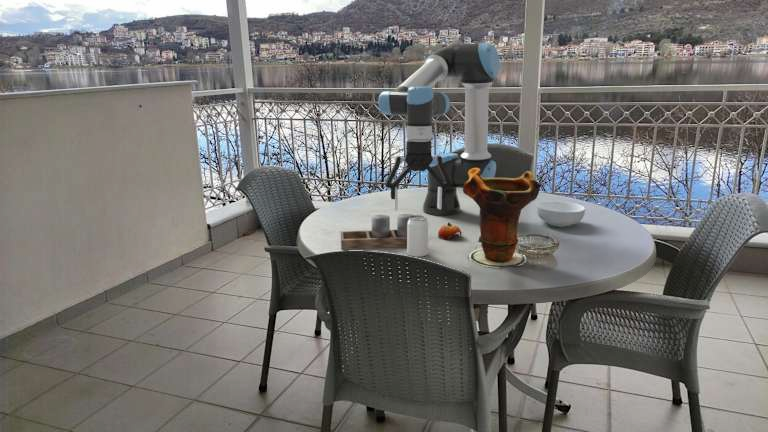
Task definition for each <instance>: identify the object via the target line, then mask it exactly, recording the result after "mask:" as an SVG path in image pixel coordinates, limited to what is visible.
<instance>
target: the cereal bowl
mask: <svg viewBox="0 0 768 432" xmlns="http://www.w3.org/2000/svg"><path fill="white" fill-rule="evenodd" d="M536 212H537V215H538V218H540V220H541V221H544V222H546V223H547V224H548V225H549V224H550V225H549V226H552V225H553V226H552V227H556V226H559V227H558V228H566V227H565V226H568V227H570V226H572V225H576V224H577V223H580V222H581V221H582V219H583V218H584V216H585V213H586V208H585V206H583V205H582V204H579V203H574V202H569V201H559V200H558V201H557V200H552V201H550V200H549V201H542V202H539V203H537V205H536Z"/></svg>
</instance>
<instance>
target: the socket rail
mask: <svg viewBox="0 0 768 432" xmlns="http://www.w3.org/2000/svg"><path fill="white" fill-rule="evenodd" d="M410 216H414V214H412V213H401V214H398V215H397V216H396V217H397V219H396V220H397V221H396V222H397V223H396V225H397V227H396V228H397V229H396V228H395V229H390V228H391V227H390V225H391V224H390V223H391V222H390V221H391V219H390V215H387V214H374V215H371V230H347V231H346V230H345V231H344V230H343V231H340V244H341V245H340V247H341V248H340V249H341V250H348V249H349V250H350V248H355V249H375V248H376V249H377V248H404V247H406V248H407V225H408V220H409V217H410Z"/></svg>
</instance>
